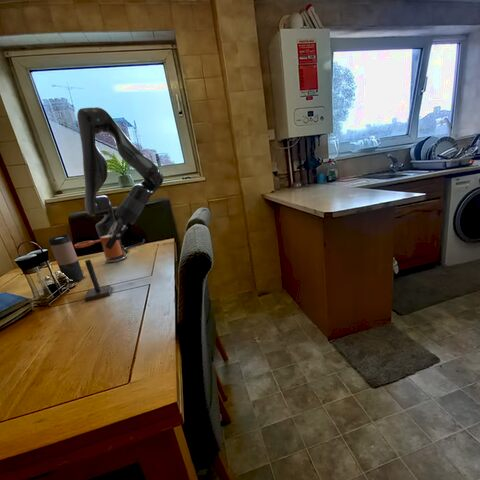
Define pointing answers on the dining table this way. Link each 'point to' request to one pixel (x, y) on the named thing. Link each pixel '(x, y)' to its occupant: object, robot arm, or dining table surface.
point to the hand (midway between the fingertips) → (106, 246)
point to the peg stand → (96, 285)
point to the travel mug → (66, 257)
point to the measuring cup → (109, 253)
